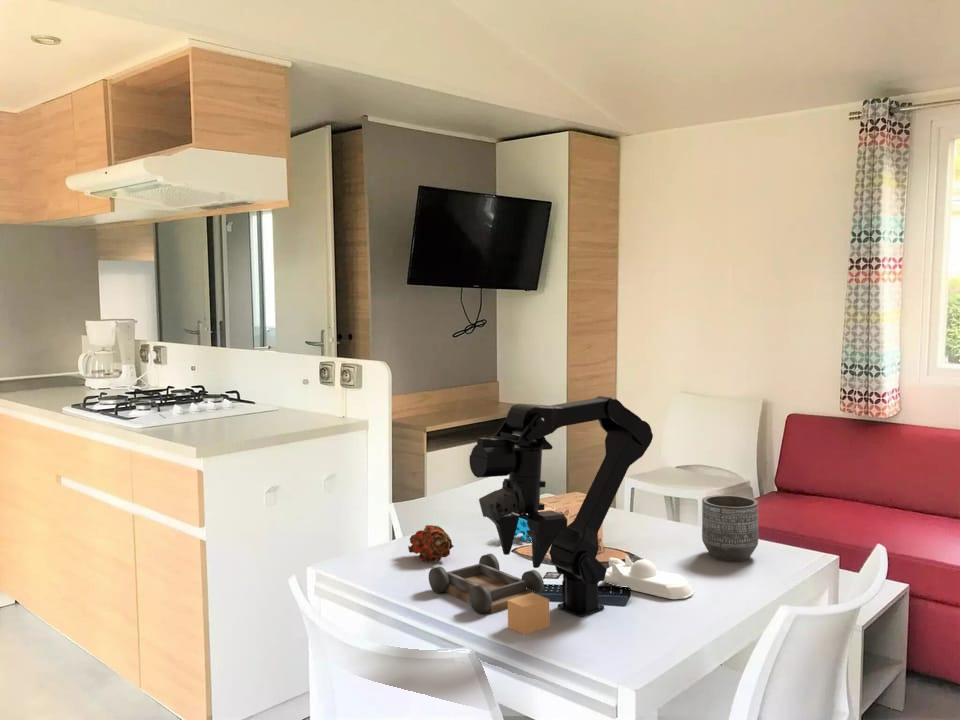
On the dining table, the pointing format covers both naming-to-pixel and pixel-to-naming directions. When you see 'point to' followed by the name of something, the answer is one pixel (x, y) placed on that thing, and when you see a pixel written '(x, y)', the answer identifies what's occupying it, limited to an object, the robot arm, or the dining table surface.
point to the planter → (730, 526)
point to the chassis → (484, 584)
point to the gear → (522, 529)
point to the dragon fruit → (431, 543)
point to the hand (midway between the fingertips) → (520, 560)
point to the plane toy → (647, 579)
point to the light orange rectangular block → (528, 613)
